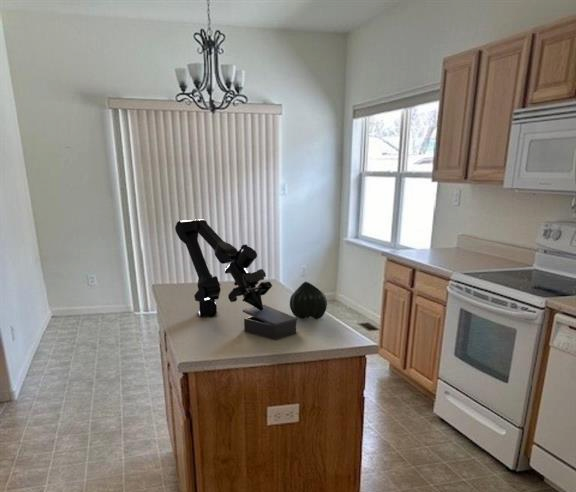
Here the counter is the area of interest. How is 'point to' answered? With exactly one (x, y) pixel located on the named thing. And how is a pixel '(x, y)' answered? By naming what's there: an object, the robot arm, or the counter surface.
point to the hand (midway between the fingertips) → (262, 309)
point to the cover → (270, 315)
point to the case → (269, 328)
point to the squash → (308, 302)
